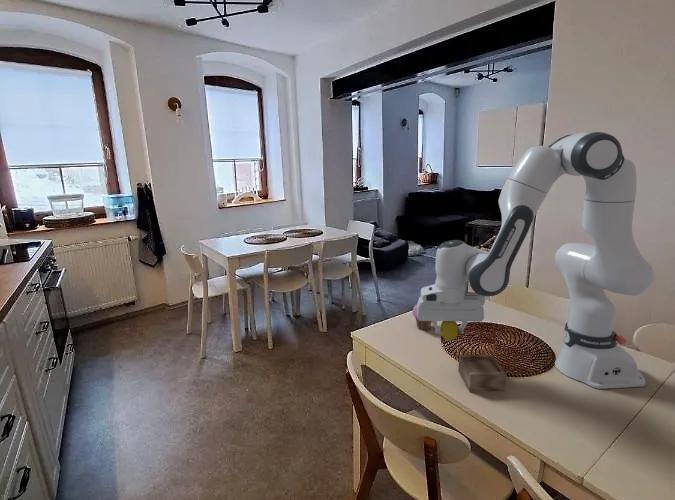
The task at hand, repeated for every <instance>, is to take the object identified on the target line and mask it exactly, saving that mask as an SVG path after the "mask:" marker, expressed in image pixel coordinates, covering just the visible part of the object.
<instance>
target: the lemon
mask: <svg viewBox="0 0 675 500" xmlns="http://www.w3.org/2000/svg"><path fill="white" fill-rule="evenodd" d="M458 326H459V324H458V323H457V321H441V324H440V328H441V333H440V335H441V337H442V338H443V339H444V340H446V341H447V342H450V341H453V340H455V339H457V337H458V335H459V333H458Z"/></svg>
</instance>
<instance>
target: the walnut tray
mask: <svg viewBox="0 0 675 500" xmlns="http://www.w3.org/2000/svg"><path fill="white" fill-rule="evenodd" d="M458 356H459V357H458V358H459V359H458V367H457V368H458V370H457V372H458V374H459V376H460V378H461V380H462V381H463V383H464V385H465V387H466V389H467V391H468V393H483V392H484V393H487V392H488V393H489V392H490V393H491V392H494V393H495V392H505V390H506V383H507V382H506V381H507V372H506V371H505V370H504V369H503V367H502V366H501V364H500V363H499V362H498V361H497V359H496V358H495V356H494V355H493V354H464V355H463V354H460V355H458Z"/></svg>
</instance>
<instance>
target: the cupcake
mask: <svg viewBox="0 0 675 500" xmlns="http://www.w3.org/2000/svg"><path fill="white" fill-rule="evenodd" d="M417 304H418V303H417ZM417 304H415V305H414V307H413V309H412V316H413V317H414V319H415V322H416V327H417V328H418V329H420V330H425V331H428V330H430V329H431V325H432V321H419V320H418V318H417Z"/></svg>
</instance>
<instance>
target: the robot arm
mask: <svg viewBox="0 0 675 500" xmlns="http://www.w3.org/2000/svg"><path fill="white" fill-rule="evenodd" d="M565 174H566V175H570V176H576V177H577V176H582V177H583V179H584V182H585V193H584V198H583V205H582V206H583V207H582V215H581V223H580V224H581V228H582V230H583V231H584V232H586V234H587V235H588V237H590V238H591V241H592V242H593V244H589V243H585V242H567V243H565V244H563V245H561V246H560V247H559V248H558V249H557V251H556V252H555V256H554V266H555V268H556V269H557V271H558V272H560V274H561V276H562V277H563V280H564V282H565V284H566V285H565V286H566V289H567V291H568V299H569V304H568V305H569V306H568V315H567V322H565V326H564V331H563V342H562V347H561V349H560V351H559V354H558V356H557V358H556V359H555V360H554V361H555V362H554V364H555V367H556V368H557V369H558V370H559V372H561V374H563V375H565V376H567V377H569V378H571V379H573V380H576V381H578V382H582V383H584V384H587V385H588V386H590V387H592V388H593V389H597V390H599V389H600V390H601V389H602V390H603V389H620V388H621V389H622V388H636V387H637V388H640V387H646V383H647V382H646V379H645V377H644V375H643V374H642V373H641V372H640V371H639V370H638V365H637V362H636V360H635V358H634V357H633V356H632V354H631V353H629V352H628V351H627V350H626V349H625V348H623V347H622V346H621V345H625V344H626V342H627V339H626V338H625V337H623V336H622V335H619V334H618V333H617V332H616V331H614V330H613V328H614V324H615V320H616V319H615V318H616V305H615V304H614V303H613V302H612V300H611V299H610V298H609V297H608V296H607V294H606V293H605V290H606V291H608V292H611V293H614V294H619V295H624V296H633V297H635V296H639V295H642V294H644V293H645V292H646V291H647V290H648V289H649V288H650V287H651V286H652V284H653V282H654V279H655V272H654V269H653V266H652V264H651V263H649V262H648V261H647V260H646V259H645V258H644V257H643V255H642V254H641V252H640V251H639V249H638V247H637V244H636V242H635V238H634V235H633V234H634V233H633V217H634V210H635V202H636V196H637V169H636V164H635V163H634V162H633V161H632V160H630V159H628V158H626V157H625V156H624V154H623V148H622V145H621V143H620V141H619V140H618V139H617V137H615V136H614V135H612V134H610V133H607V132H601V131H596V132H595V131H594V132H593V131H592V132H590V131H583V132H577V133H574V134H567V135H564V136H562V137H559V138H558V139H556V140H555V141H554V142H552V143H551V144H549V145H548V146H546V145H535V146H532V147H529V148H528V149H527V150H526V151H525V152H524V153H523V155H522V156H521V157H520V158H519V160H518V161H517V162H516V164H515V166H514V167H513V168H512V170H511V171H510V174H509V175H508V177H507V179H506V180H505V182H504V184H503V186H502V188H501V192H500V194H499V198H498V206H499V211H500V213H501V215H500V216H501V225H500V230H499V231H498V233H497V236H496V238H495V239H494V241H493V244H492V246H491V248H490V250H489V251H487V250H485V249H479V248H476V247H473V246H471V245H468V244H466V243H465V242H464V241H462V240H459V239H453V240H448V241H443V242H441V244H439V246H438V247H437V249H436V253H435V254H436V255H435V265H434V266H435V267H434V268H435V274H436V276H435V277H436V278H435V283H433V284H431V285H427V286H424V287H422V288H420V296H419V298H418V301H417V318H418V320H419V321H432V322H431V324H432V325H433V327H434V328H435V334H441V328H440V327H441V325H438V322H443V321H455V322H462V323H461V324H460V325H458V334H464V329H465V328H466V327H467V326H468V322H471V323H472V322H475V323H476V322H477V323H479V322H480V323H481V322H482V321H483V320H484V319H485V312H484V311H485V310H484V305H485V303H486V297H494V296H497V295H499V294H502V292H504V291H505V290H506V289H507V287H508V285H509V282H510V275H511V274H510V273H511V268H512V265H513V263H514V261H515V259H516V257H517V255H518V253H519V251H520V249H521V247H522V245H523V242H524V240H525V239H526V237H527V235H528V234H529V231H530V228H531V226H532V223H533V221H534V219H535V216H536V215H537V213H538V211H539V209H540V208H541V206H542V204H543V202H544V201H545V198H546V197H547V195H548V194H549V192H550V191H551V189H552V186H553V185H554V183H555V182H556V181H557V180H558V179H559V178H560V177H562V176H563V175H565ZM467 282H469V287H470V288H471V290H473V292H472V291H466V283H467ZM619 344H620V345H619Z"/></svg>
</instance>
